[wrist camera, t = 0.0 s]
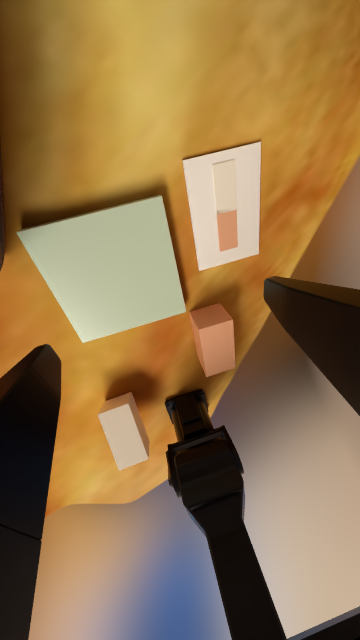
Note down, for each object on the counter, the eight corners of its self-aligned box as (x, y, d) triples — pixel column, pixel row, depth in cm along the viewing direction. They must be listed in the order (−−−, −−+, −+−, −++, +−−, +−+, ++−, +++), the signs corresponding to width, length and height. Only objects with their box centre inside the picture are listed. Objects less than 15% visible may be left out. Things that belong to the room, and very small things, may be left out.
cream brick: (149, 440, 33) (148, 459, 29) (123, 450, 33) (119, 470, 29) (131, 391, 33) (128, 403, 29) (104, 401, 32) (97, 414, 28)
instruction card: (257, 253, 25) (259, 254, 25) (198, 270, 25) (199, 271, 24) (259, 141, 19) (261, 141, 19) (182, 160, 19) (183, 160, 19)
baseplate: (183, 306, 27) (186, 311, 26) (84, 336, 26) (82, 342, 25) (159, 194, 20) (161, 195, 19) (21, 229, 19) (16, 232, 18)
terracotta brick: (223, 348, 33) (235, 367, 29) (197, 356, 32) (206, 377, 29) (219, 302, 28) (233, 319, 25) (188, 311, 28) (198, 329, 24)
